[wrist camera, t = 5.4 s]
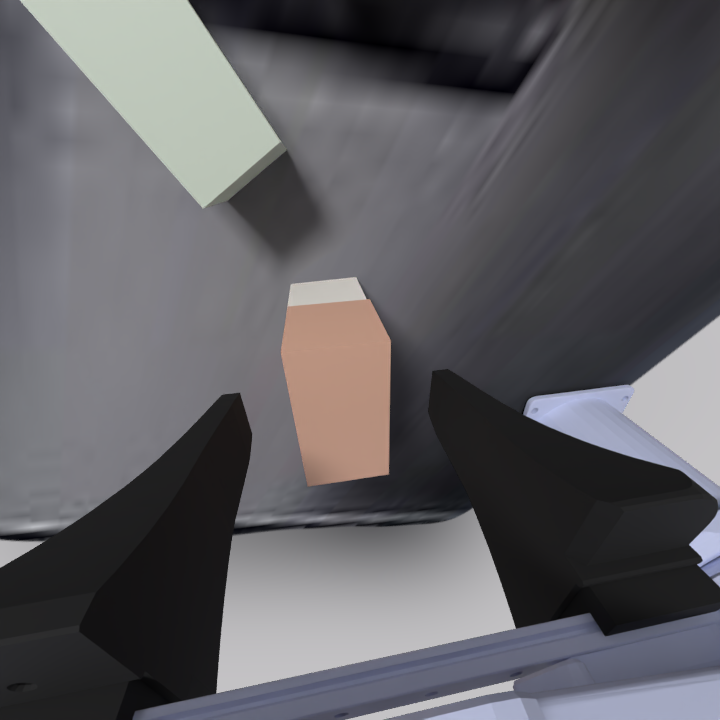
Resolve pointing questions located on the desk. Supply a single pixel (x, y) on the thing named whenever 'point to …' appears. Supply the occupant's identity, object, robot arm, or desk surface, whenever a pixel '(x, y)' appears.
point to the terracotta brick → (339, 389)
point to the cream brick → (325, 292)
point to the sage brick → (168, 88)
